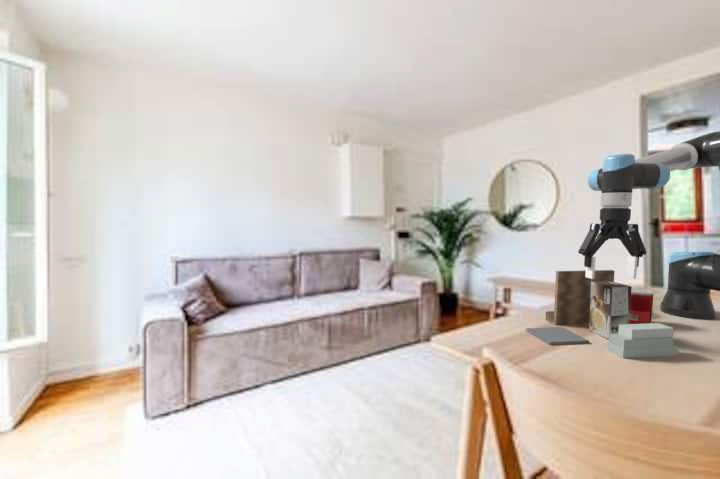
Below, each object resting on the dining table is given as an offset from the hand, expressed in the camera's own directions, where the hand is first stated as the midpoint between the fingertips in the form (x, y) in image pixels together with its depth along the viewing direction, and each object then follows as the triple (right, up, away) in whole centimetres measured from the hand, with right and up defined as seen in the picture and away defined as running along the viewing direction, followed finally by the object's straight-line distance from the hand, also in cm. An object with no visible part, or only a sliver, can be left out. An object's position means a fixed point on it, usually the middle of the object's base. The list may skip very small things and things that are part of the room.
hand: (610, 278), depth 108 cm
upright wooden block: (-1, -17, +14) cm, 22 cm away
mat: (-17, -18, 0) cm, 24 cm away
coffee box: (0, -18, +2) cm, 18 cm away
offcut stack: (0, -19, -12) cm, 23 cm away
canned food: (+18, -17, +13) cm, 28 cm away
